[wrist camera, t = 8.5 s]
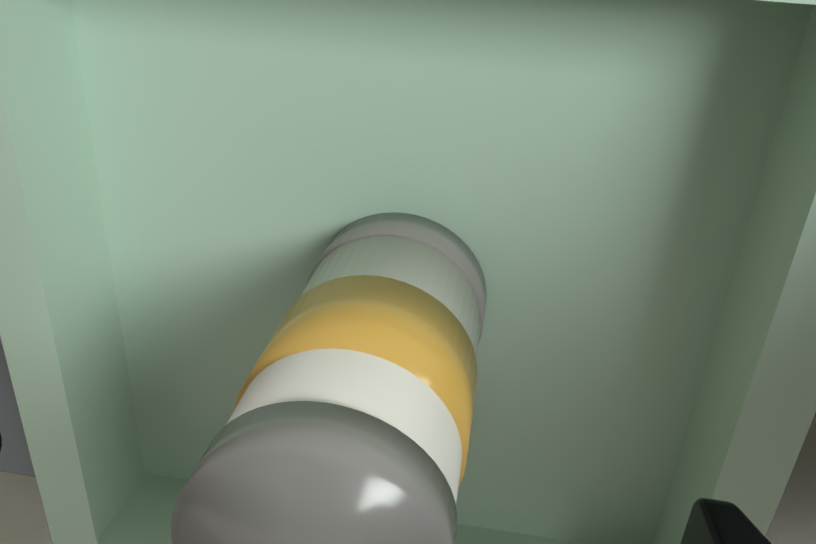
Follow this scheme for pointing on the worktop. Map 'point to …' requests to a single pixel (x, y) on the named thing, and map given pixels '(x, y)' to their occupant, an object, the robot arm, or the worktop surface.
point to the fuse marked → (353, 401)
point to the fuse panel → (12, 427)
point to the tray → (431, 198)
